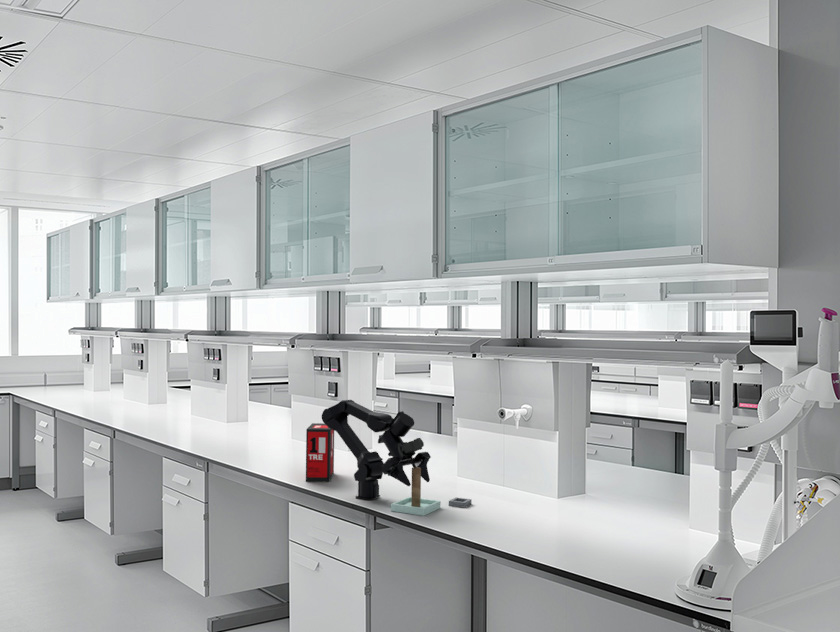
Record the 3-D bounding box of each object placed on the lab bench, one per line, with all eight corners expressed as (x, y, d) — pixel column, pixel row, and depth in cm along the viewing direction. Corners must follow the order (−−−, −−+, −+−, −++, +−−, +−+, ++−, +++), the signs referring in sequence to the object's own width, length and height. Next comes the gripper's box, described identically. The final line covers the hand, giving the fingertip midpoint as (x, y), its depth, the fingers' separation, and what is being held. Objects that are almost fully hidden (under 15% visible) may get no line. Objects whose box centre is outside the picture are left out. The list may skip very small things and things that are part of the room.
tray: (390, 510, 250) (391, 504, 250) (408, 503, 261) (408, 496, 261) (423, 515, 245) (423, 508, 245) (440, 507, 255) (440, 501, 255)
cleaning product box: (311, 473, 310) (312, 423, 310) (333, 473, 310) (334, 423, 310) (305, 481, 293) (306, 429, 293) (329, 482, 293) (329, 429, 293)
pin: (409, 505, 253) (410, 467, 253) (417, 504, 255) (417, 466, 255) (414, 507, 251) (415, 469, 251) (422, 506, 252) (422, 468, 252)
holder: (448, 505, 258) (448, 500, 258) (455, 502, 263) (455, 497, 264) (464, 507, 256) (464, 502, 256) (471, 504, 261) (471, 499, 261)
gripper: (388, 433, 249) (412, 472, 241) (427, 427, 262) (451, 464, 255) (371, 454, 254) (394, 493, 246) (409, 448, 268) (433, 484, 260)
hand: (419, 483), depth 252 cm, fingers open, 9 cm apart
